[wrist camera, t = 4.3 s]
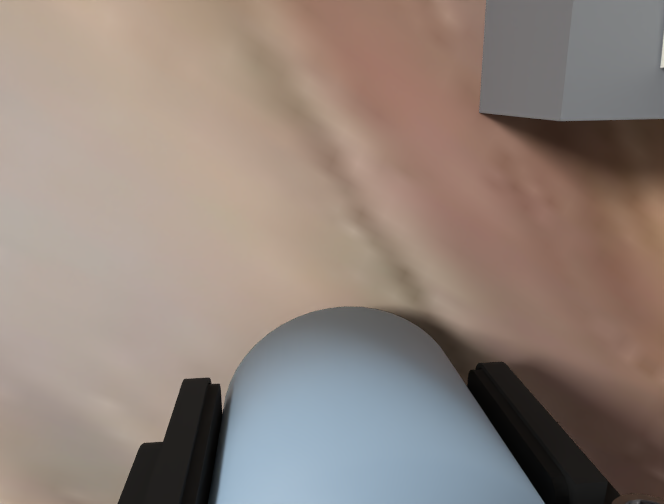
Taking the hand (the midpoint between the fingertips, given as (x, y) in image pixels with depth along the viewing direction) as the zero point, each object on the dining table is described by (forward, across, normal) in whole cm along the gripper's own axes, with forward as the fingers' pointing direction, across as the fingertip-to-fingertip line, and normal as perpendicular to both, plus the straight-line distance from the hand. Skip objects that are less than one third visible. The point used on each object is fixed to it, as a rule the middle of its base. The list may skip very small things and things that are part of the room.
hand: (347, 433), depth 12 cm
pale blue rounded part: (+1, 0, 0) cm, 1 cm away
